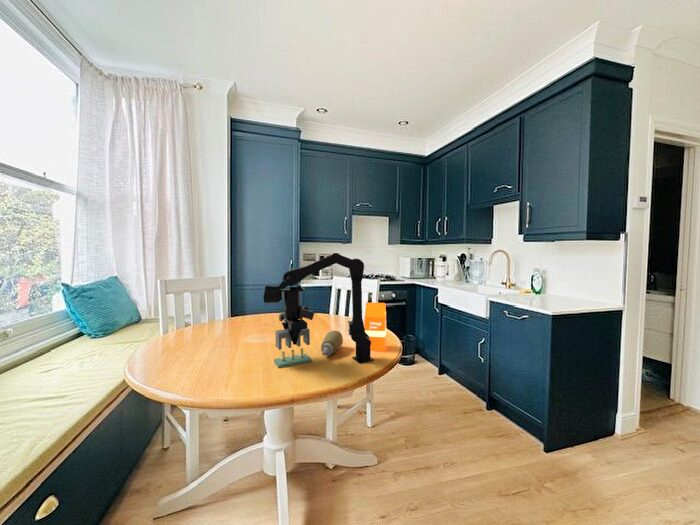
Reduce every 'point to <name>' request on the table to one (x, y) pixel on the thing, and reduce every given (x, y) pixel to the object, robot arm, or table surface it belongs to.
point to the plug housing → (285, 334)
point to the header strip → (292, 359)
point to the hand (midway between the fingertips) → (293, 342)
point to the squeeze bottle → (331, 342)
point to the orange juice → (376, 325)
